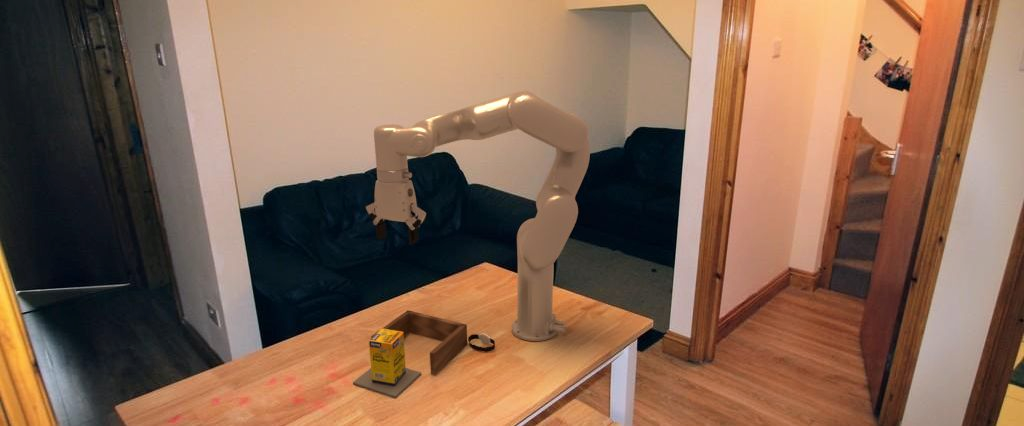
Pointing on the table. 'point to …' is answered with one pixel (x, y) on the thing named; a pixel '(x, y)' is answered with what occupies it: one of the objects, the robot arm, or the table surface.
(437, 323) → the open box
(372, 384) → the mat
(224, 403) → the table surface
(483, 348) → the watch
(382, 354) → the supplement box
